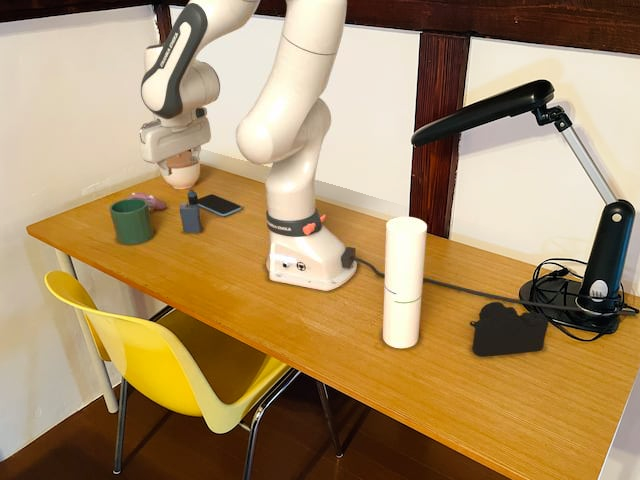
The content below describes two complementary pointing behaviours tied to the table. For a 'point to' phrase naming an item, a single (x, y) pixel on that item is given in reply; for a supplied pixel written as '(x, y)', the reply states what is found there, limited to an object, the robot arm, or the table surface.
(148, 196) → the video game controller
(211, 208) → the smartphone
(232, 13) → the robot arm
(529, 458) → the table surface
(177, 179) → the lidded bowl
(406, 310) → the cylindrical container
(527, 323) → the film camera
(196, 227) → the vaping device
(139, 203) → the pen cup
